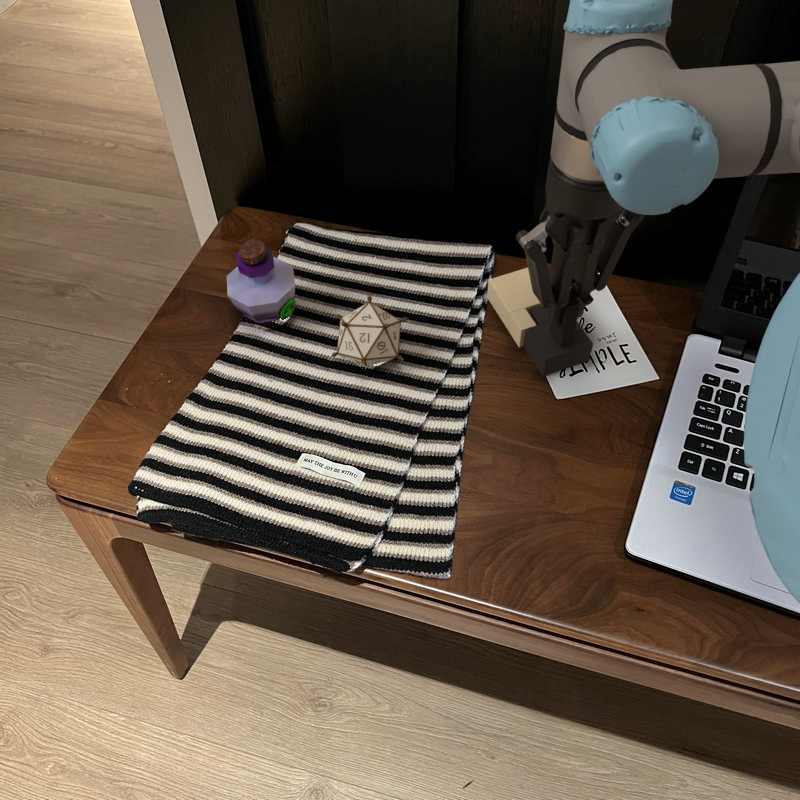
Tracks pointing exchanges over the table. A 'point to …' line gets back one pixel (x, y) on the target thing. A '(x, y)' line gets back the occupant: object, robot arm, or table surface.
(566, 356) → the black pad
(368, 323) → the game die
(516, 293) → the base pad
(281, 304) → the potion bottle
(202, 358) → the table surface
